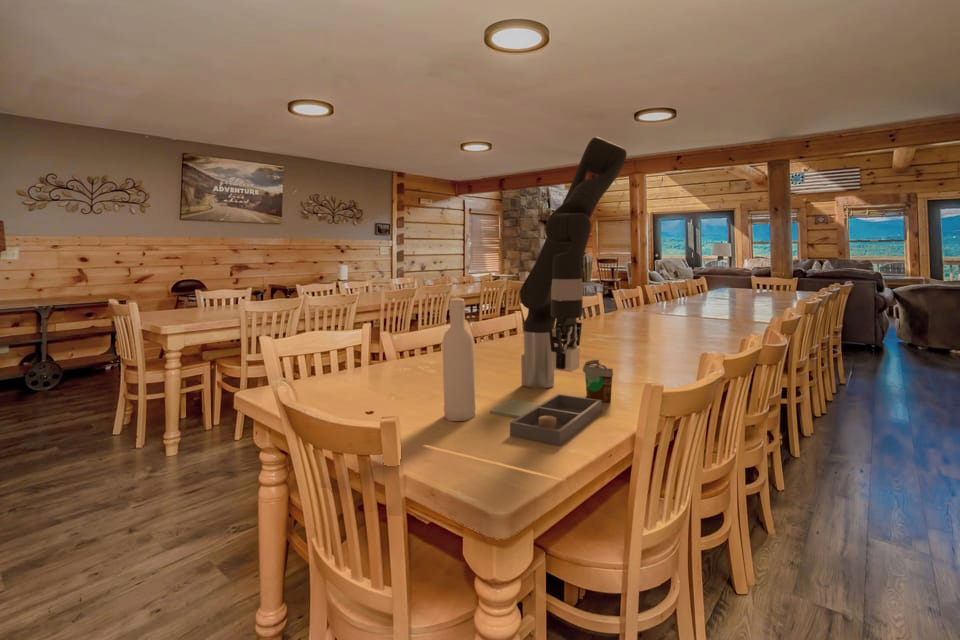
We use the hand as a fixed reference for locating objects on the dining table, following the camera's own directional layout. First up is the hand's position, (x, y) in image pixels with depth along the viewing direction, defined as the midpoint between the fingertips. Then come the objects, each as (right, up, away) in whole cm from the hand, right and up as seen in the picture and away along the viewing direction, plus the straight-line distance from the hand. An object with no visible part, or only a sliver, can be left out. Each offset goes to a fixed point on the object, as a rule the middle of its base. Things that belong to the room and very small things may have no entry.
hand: (565, 366), depth 121 cm
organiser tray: (-2, -14, -3) cm, 14 cm away
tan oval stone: (-6, -14, -9) cm, 18 cm away
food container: (+11, -11, +17) cm, 23 cm away
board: (-11, -13, +7) cm, 18 cm away
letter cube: (0, -1, 0) cm, 1 cm away
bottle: (-26, -13, +4) cm, 30 cm away
